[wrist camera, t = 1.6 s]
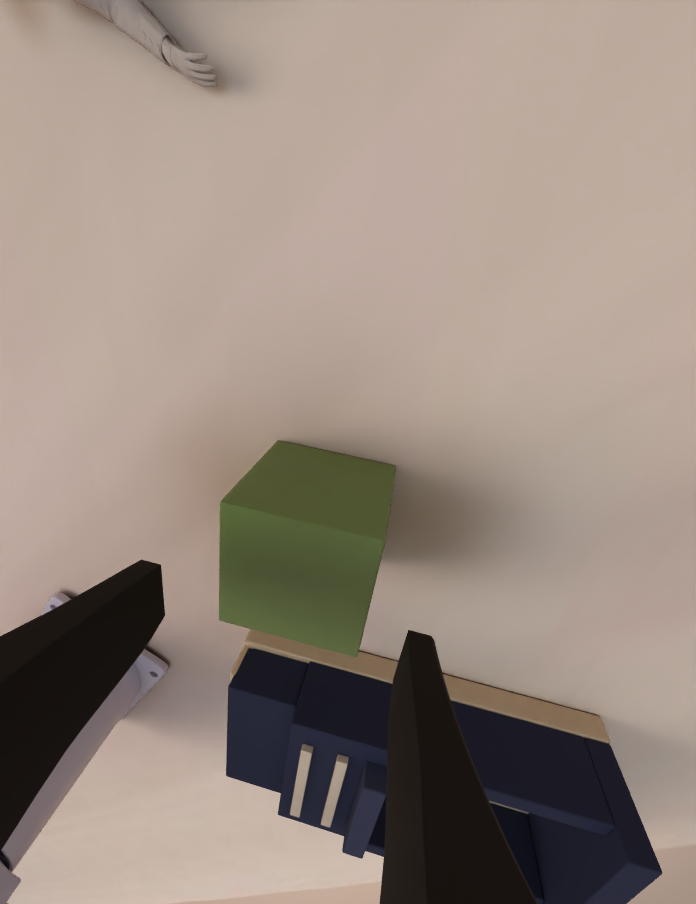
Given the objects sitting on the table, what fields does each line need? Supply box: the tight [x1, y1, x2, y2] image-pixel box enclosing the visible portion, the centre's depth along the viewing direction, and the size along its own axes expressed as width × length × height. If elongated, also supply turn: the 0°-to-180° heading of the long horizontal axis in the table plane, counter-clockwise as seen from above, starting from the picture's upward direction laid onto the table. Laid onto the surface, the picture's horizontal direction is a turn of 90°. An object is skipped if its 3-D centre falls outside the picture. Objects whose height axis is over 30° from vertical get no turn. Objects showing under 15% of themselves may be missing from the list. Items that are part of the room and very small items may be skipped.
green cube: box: [219, 441, 396, 657], centre depth 14 cm, size 5×5×5 cm
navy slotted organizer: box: [226, 629, 662, 904], centre depth 19 cm, size 18×8×6 cm, turn 81°
